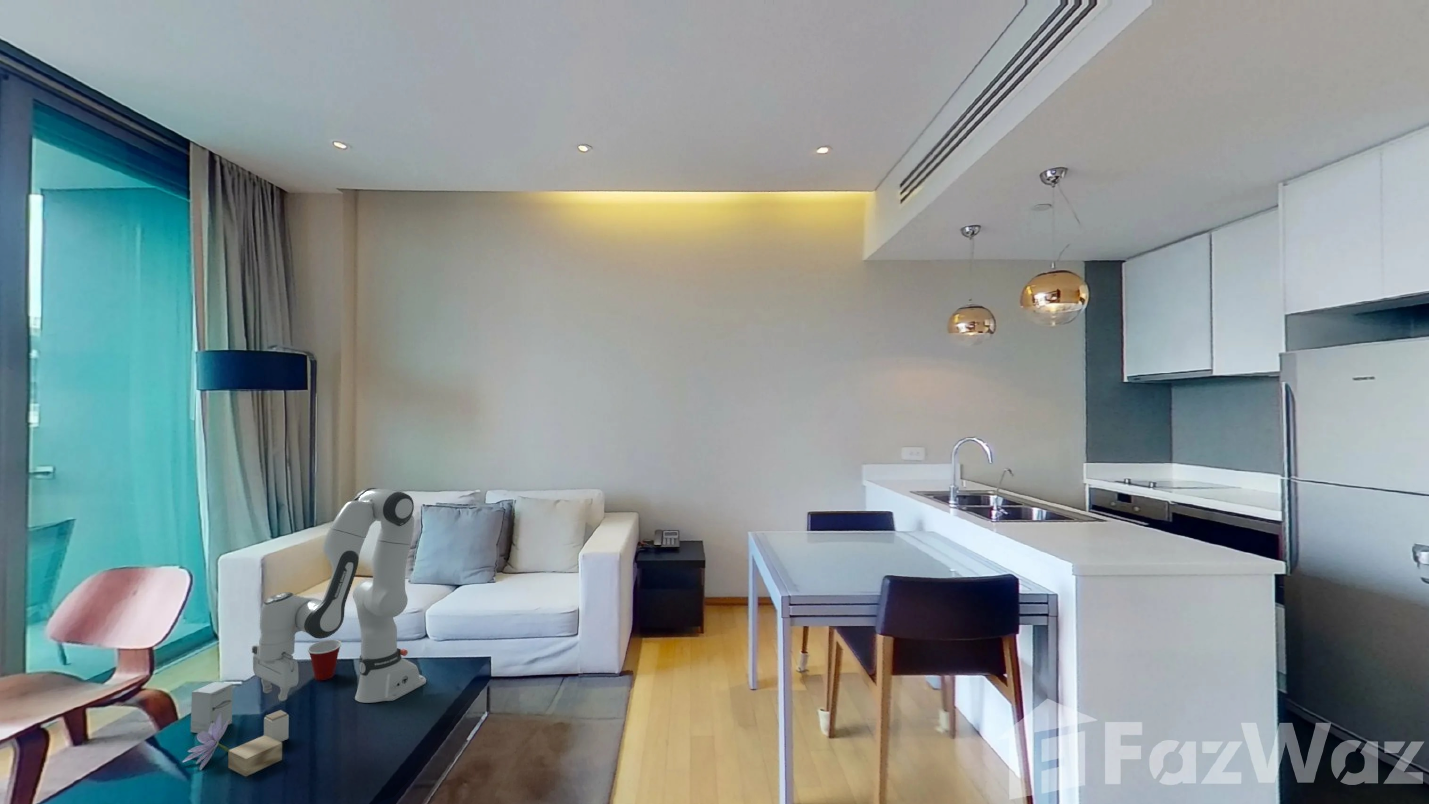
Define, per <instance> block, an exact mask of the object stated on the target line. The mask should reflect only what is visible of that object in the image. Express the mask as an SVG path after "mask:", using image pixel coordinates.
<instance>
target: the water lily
mask: <svg viewBox="0 0 1429 804" xmlns="http://www.w3.org/2000/svg"><path fill="white" fill-rule="evenodd" d="M228 723H229V720H228V721H227V722H226V723H225V725H224V726H223V727H222V726H221V724H222V719H221V713H220V714H219V716H218V718H217V721H216V725H215V723H212V724H211V725H210V727H209V731H208V732H207V731H201V733H196V739H197V741H198V742H200V744H201V745H197V746H194V747H192V748H190V749H188V750H187V752H188V753H191V754H189V755H188V756H187V757H186V758H184V759H183V760H182V763H185V762H188V761H190V760H193V759H195V758H197V757H199V756H200V757H199V758H198V759H197V761H196V762H195V764H196V765H198V764H199V763H200V762H201V763H200V766H199V770H200V771H202V770H203V768H204V767H205V766H206V765H207V763H208V762H209V761H210V759H211V758H212V756H213V755H214V752H215V750H216V748H217V747H219V748H221V749H223V750H224V751H226V752H227V753H228V752H229V750H230V749H229V748H228V747H226V746H225V745H222V744H221V743H219V742H220V740H221V738H222V737H223V735H225V732H226V730H227V728H228Z"/></svg>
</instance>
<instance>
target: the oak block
mask: <svg viewBox="0 0 1429 804" xmlns="http://www.w3.org/2000/svg"><path fill="white" fill-rule="evenodd" d="M227 753H228V754H227V755H228V758H227V759H228V763H227V767H228V769H230V770H232V771H233V772H236V773H238V774H239V775H242V776H243V777H248V776H249V775H252V774H255V773H256V772H258V771H261V770H264V769H265V768H267V767H270V766H272V765H273V764H276V763H278V762H280V761H282V760H283V742H282V741H281V742H279V741H277V740H275V739H272V738H270V737H268V736H266V735H264V734H263V735H262V736H258V737H257V738H255V739H252V740H250V741H247V742H245V743H243V744H240V745H238V746H236V747H233V748H230V749H229V752H227Z"/></svg>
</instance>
